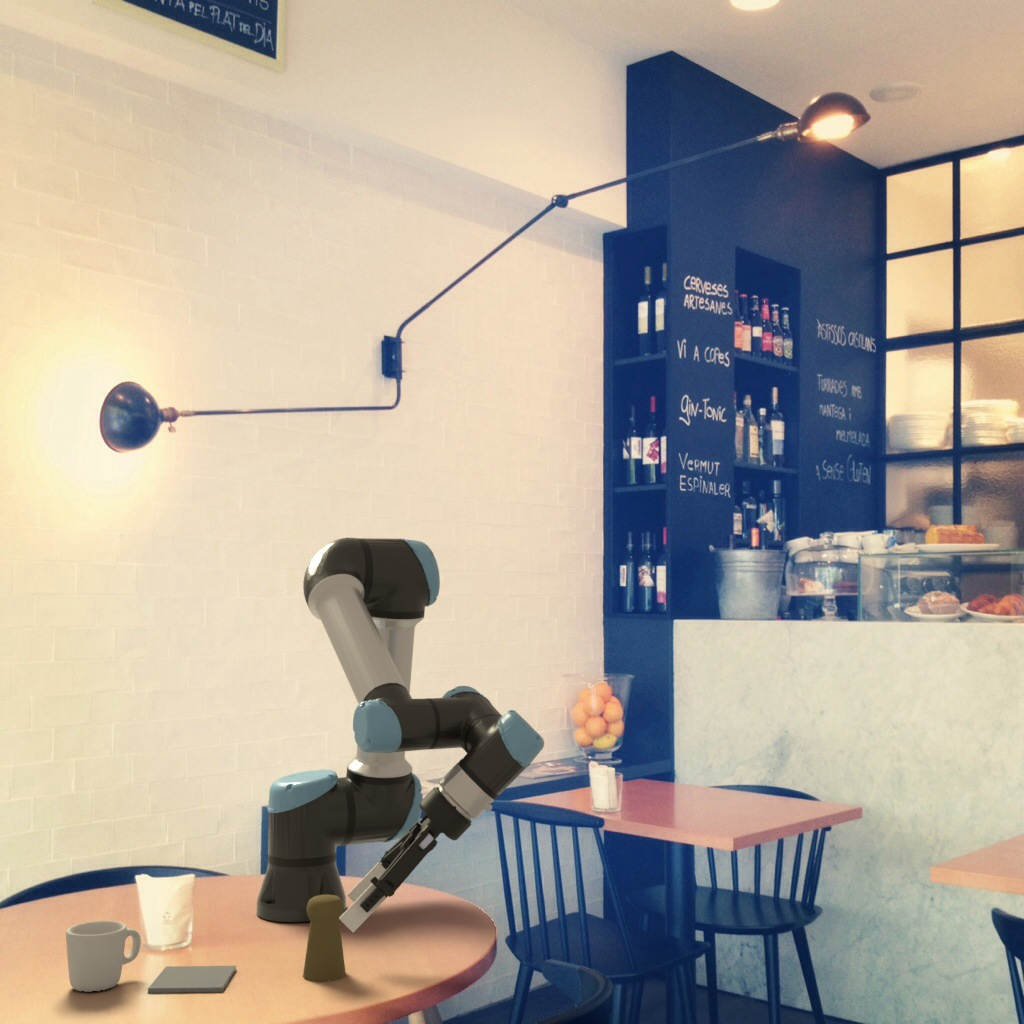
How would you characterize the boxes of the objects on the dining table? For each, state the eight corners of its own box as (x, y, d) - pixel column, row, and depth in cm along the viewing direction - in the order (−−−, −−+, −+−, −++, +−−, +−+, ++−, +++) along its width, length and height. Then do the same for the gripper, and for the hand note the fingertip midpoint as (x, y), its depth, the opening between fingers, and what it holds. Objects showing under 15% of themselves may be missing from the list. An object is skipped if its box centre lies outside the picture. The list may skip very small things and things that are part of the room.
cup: (122, 970, 173) (123, 913, 174) (154, 981, 168) (155, 922, 169) (52, 988, 165) (54, 928, 165) (84, 1000, 160) (86, 938, 160)
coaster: (165, 970, 173) (166, 966, 173) (236, 969, 173) (236, 965, 173) (147, 992, 163) (147, 988, 163) (222, 991, 163) (222, 987, 163)
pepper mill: (305, 983, 167) (306, 902, 168) (300, 970, 173) (301, 892, 174) (348, 979, 169) (349, 899, 169) (342, 967, 174) (343, 889, 175)
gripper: (476, 837, 160) (363, 956, 158) (472, 807, 185) (374, 909, 183) (436, 798, 160) (322, 916, 158) (437, 773, 185) (339, 875, 183)
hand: (349, 913), depth 170 cm, fingers open, 13 cm apart
